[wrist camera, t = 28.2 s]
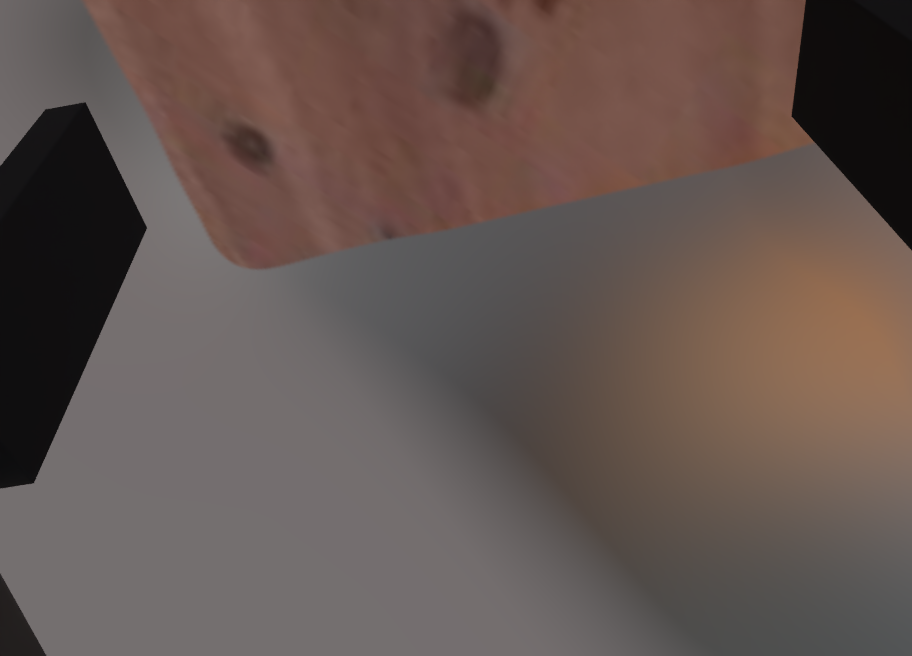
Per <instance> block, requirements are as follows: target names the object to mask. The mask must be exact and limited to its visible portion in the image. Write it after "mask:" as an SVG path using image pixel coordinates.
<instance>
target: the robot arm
mask: <svg viewBox="0 0 912 656" xmlns="http://www.w3.org/2000/svg"><path fill="white" fill-rule="evenodd" d="M792 117H793V118H794V120H795V121H796V122H797V123H798V124H799V125H800V126H801V127H802V128H803V130H804V131H805V132H806V133H807V134H808V135H809V136H810V137H811V139H812V140H813V141H814V142H815V143H816V144H817V145H818V146H819V147H820V148H821V150H822V151H823V152H824V153H825V154H826V155H827V156H828V157H829V159H830V160H831V161H832V162H833V163H834V164H835V165H836V166H837V168H839V170H840V171H841V172H842V173H843V174H844V175H845V176H846V178H847V179H848V180H849V181H850V182H851V183H852V184H853V185H854V186H855V188H856V189H857V190H858V191H859V192H860V193H861V194H862V195H863V197H864V198H865V199H866V200H867V201H868V202H869V203H870V204H871V205H872V206H873V208H874V209H875V210H876V211H877V212H878V213H879V214H880V215H881V217H882V218H883V219H884V220H885V221H886V222H887V223H888V224H889V226H890V227H892V229H893V230H894V231H895V232H896V233H897V234H898V236H899V237H900V238H901V239H902V240H903V241H904V242H905V243H906V244H907V246H908V247H909V248H910V249H911V250H912V0H806V5H805V13H804V21H803V29H802V37H801V45H800V53H799V61H798V69H797V77H796V85H795V93H794V101H793V109H792ZM146 229H147V227H146V225H145V223H144V221H143V219H142V217H141V215H140V213H139V211H138V209H137V207H136V205H135V202H134V200H133V198H132V196H131V195H130V192H129V190H128V188H127V186H126V184H125V182H124V180H123V178H122V176H121V174H120V172H119V170H118V168H117V166H116V164H115V162H114V160H113V158H112V156H111V154H110V151H109V149H108V147H107V146H106V143H105V141H104V140H103V137H102V135H101V133H100V131H99V129H98V127H97V125H96V123H95V121H94V119H93V117H92V115H91V113H90V111H89V109H88V107H87V105H86V103H79V104H74V105H68V106H63V107H57V108H52V109H46V110H45V111H44V112H43V113H42V115H41V116H40V117H39V118H38V120H37V121H36V122H35V123H34V125H33V126H32V127H31V128H30V130H29V131H28V132H27V133H26V135H25V136H24V137H23V138H22V140H21V141H20V142H19V143H18V145H17V146H16V147H15V149H14V150H13V151H12V152H11V153H10V155H9V156H8V157H7V159H6V160H5V161H4V162H3V164H2V165H1V166H0V488H6V487H12V486H19V485H25V484H32V483H34V481H35V479H36V477H37V475H38V472H39V470H40V468H41V466H42V463H43V461H44V459H45V457H46V454H47V452H48V450H49V448H50V445H51V443H52V441H53V438H54V436H55V434H56V432H57V430H58V427H59V425H60V423H61V421H62V418H63V416H64V414H65V412H66V409H67V407H68V405H69V403H70V400H71V398H72V396H73V394H74V391H75V389H76V387H77V385H78V382H79V380H80V378H81V375H82V373H83V371H84V369H85V366H86V364H87V362H88V359H89V357H90V355H91V353H92V351H93V348H94V346H95V344H96V342H97V339H98V337H99V335H100V333H101V330H102V328H103V326H104V324H105V321H106V319H107V317H108V315H109V312H110V310H111V308H112V306H113V303H114V301H115V299H116V297H117V294H118V292H119V290H120V288H121V285H122V283H123V281H124V279H125V276H126V274H127V272H128V269H129V267H130V265H131V263H132V261H133V258H134V256H135V253H136V252H137V249H138V247H139V245H140V242H141V240H142V238H143V236H144V233H145V231H146ZM0 656H46V654H45V653H44V651H43V649H42V647H41V645H40V644H39V642H38V640H37V638H36V637H35V635H34V633H33V631H32V629H31V628H30V626H29V624H28V622H27V621H26V619H25V617H24V615H23V613H22V611H21V610H20V608H19V606H18V604H17V603H16V601H15V599H14V597H13V595H12V594H11V592H10V590H9V588H8V587H7V585H6V583H5V581H4V579H3V578H2V576H1V574H0Z"/></svg>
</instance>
